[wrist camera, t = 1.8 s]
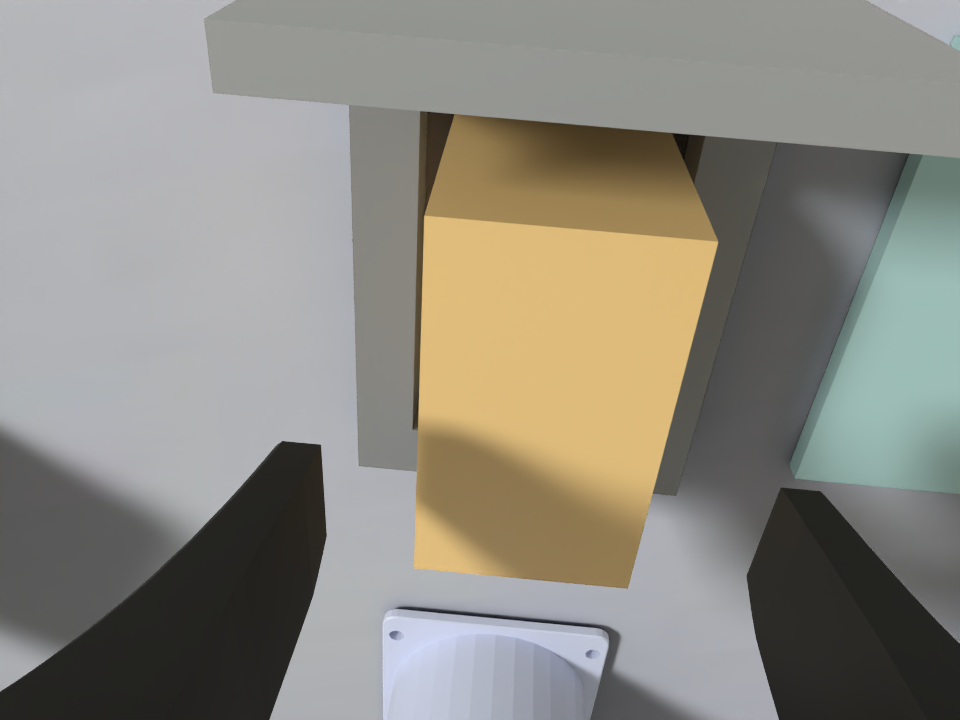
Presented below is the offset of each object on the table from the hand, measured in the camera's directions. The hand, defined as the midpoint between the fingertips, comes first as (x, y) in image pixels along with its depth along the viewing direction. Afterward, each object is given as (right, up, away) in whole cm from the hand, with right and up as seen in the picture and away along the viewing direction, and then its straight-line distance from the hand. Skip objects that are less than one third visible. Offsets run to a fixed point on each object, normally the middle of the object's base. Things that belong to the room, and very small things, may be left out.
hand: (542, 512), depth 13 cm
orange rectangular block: (+1, +5, +7) cm, 9 cm away
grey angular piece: (+1, +5, +7) cm, 9 cm away
